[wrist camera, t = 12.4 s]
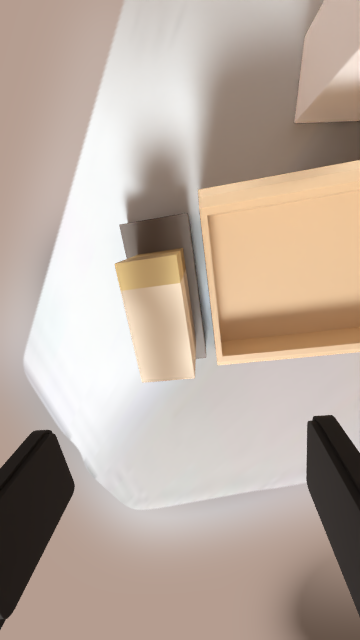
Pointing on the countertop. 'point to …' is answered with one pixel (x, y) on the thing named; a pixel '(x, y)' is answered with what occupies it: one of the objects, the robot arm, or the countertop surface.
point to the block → (159, 314)
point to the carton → (284, 264)
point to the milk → (331, 65)
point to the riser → (161, 238)
